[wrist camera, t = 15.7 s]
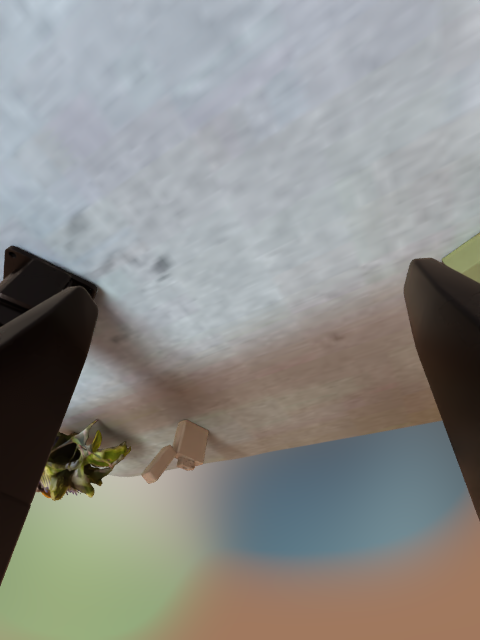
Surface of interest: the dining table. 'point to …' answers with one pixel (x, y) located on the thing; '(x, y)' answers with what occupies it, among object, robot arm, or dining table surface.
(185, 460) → the lighter
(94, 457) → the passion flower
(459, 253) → the riser block
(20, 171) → the dining table surface
